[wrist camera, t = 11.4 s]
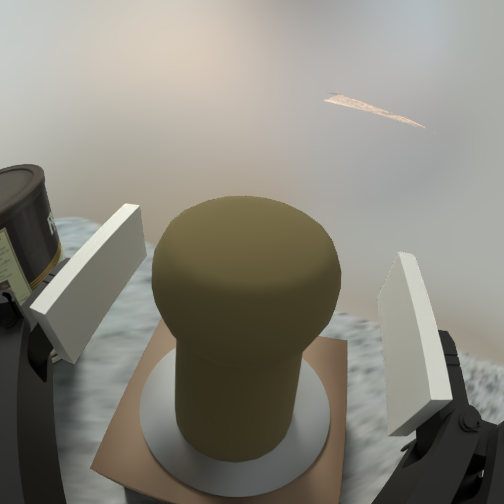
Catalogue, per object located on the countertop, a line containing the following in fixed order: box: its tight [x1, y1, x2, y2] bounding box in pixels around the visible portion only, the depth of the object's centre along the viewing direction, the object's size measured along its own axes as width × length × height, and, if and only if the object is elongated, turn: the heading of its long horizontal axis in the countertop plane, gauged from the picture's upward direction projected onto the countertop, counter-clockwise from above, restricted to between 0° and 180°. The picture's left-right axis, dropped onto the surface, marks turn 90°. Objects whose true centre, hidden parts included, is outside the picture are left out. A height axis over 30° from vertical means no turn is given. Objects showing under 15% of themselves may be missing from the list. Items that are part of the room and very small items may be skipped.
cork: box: [152, 196, 341, 463], centre depth 11 cm, size 6×6×11 cm
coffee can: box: [0, 164, 66, 363], centre depth 19 cm, size 10×10×14 cm
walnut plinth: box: [90, 318, 347, 504], centre depth 16 cm, size 12×12×6 cm
